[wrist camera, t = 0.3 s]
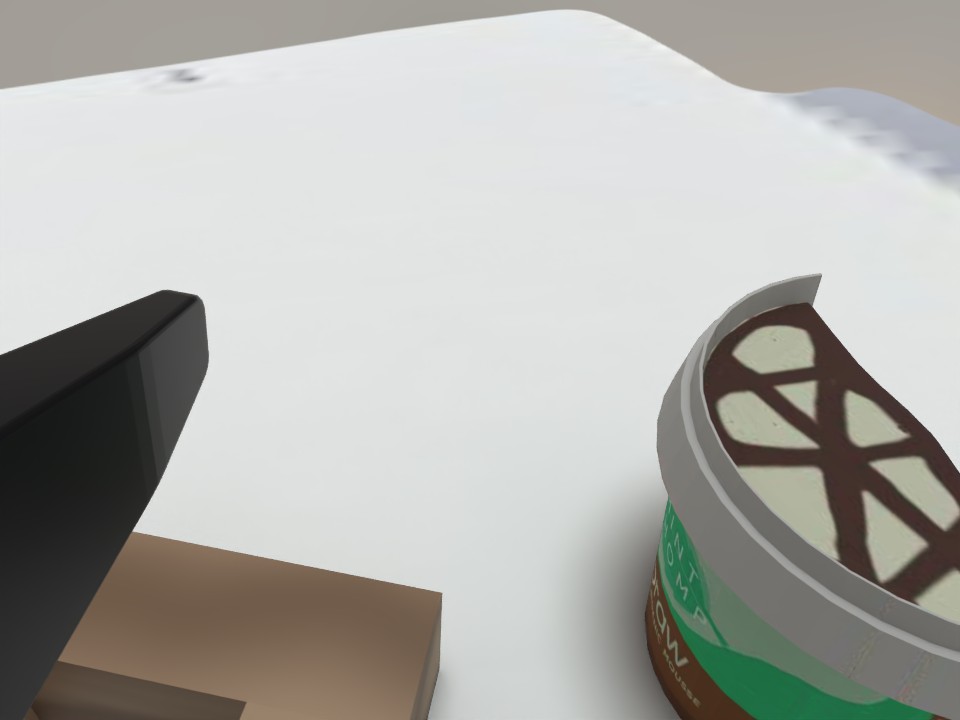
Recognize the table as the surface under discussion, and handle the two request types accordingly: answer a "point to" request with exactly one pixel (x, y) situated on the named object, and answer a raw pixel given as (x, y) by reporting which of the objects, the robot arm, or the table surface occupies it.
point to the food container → (800, 531)
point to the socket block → (243, 642)
